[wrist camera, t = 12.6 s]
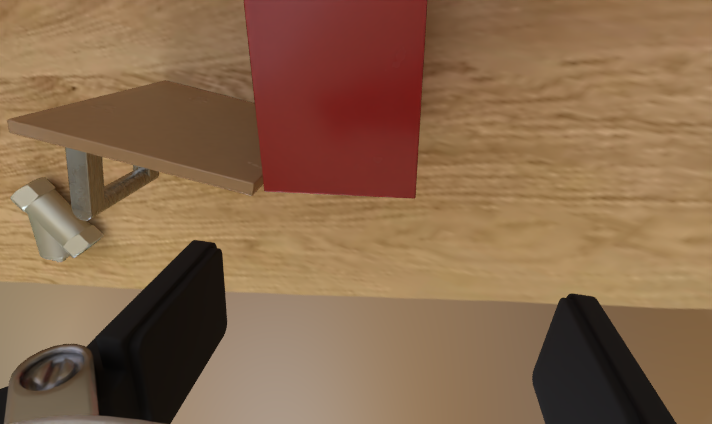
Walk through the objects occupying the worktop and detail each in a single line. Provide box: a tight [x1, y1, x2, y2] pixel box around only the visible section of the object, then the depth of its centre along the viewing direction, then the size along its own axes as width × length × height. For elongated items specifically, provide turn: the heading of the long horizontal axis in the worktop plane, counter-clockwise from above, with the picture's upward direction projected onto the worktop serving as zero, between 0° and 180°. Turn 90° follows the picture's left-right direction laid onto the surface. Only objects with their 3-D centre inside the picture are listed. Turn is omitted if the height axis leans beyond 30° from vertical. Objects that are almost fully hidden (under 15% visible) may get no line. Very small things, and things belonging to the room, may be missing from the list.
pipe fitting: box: [11, 177, 103, 262], centre depth 43 cm, size 8×4×7 cm
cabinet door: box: [7, 80, 264, 221], centre depth 31 cm, size 7×14×16 cm, turn 78°
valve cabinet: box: [244, 0, 427, 198], centre depth 26 cm, size 8×14×16 cm, turn 0°
